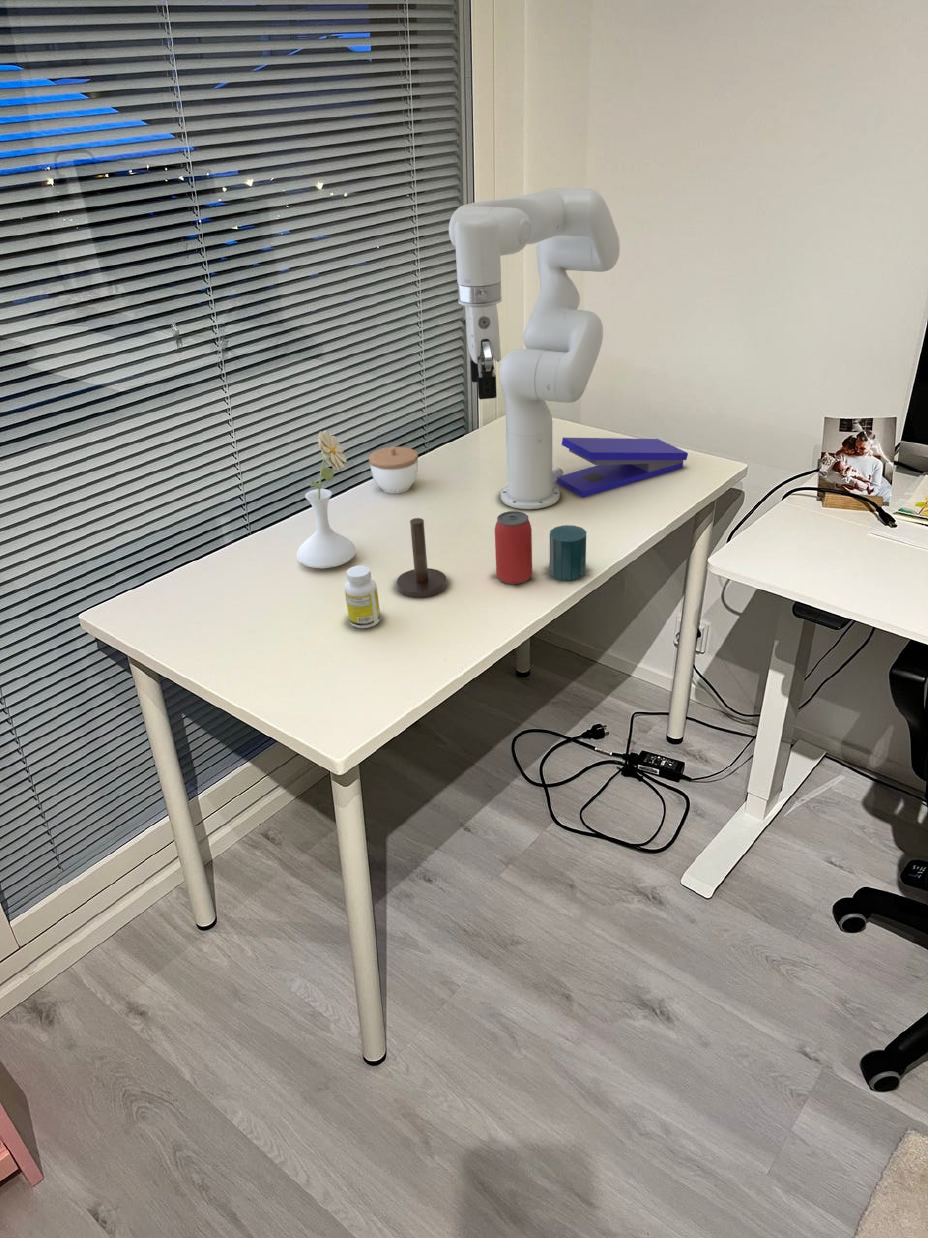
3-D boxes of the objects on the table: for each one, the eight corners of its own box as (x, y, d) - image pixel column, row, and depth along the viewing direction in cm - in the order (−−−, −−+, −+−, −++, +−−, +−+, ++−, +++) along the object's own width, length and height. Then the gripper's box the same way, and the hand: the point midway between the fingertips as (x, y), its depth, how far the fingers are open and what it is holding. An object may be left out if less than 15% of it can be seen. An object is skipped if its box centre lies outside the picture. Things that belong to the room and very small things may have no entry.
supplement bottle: (364, 609, 168) (358, 560, 163) (387, 618, 165) (381, 568, 160) (342, 623, 165) (335, 573, 159) (365, 632, 162) (358, 582, 156)
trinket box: (429, 483, 214) (426, 444, 209) (401, 501, 206) (397, 460, 202) (391, 475, 219) (388, 436, 214) (362, 492, 212) (357, 452, 207)
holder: (419, 569, 180) (414, 505, 173) (456, 582, 175) (452, 517, 168) (387, 588, 174) (380, 524, 167) (424, 602, 169) (419, 536, 162)
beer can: (532, 568, 178) (532, 509, 172) (531, 585, 172) (530, 525, 166) (497, 568, 179) (495, 509, 172) (495, 585, 173) (492, 525, 167)
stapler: (555, 481, 212) (555, 439, 207) (654, 452, 223) (657, 412, 218) (585, 498, 203) (586, 455, 198) (687, 468, 214) (691, 426, 209)
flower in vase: (332, 579, 178) (315, 452, 165) (285, 566, 183) (265, 442, 170) (373, 550, 187) (360, 428, 174) (327, 538, 193) (311, 419, 180)
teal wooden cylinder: (562, 560, 180) (563, 522, 176) (592, 569, 176) (593, 530, 172) (543, 574, 176) (542, 535, 172) (572, 584, 172) (573, 544, 168)
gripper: (509, 302, 158) (511, 403, 167) (493, 280, 173) (496, 373, 182) (464, 306, 157) (469, 407, 166) (452, 283, 172) (457, 376, 181)
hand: (483, 389), depth 174 cm, fingers open, 9 cm apart
